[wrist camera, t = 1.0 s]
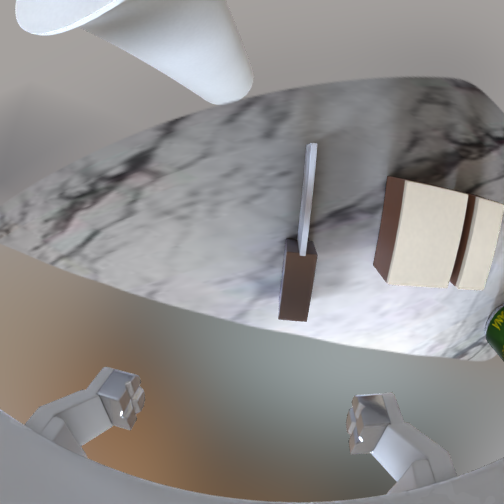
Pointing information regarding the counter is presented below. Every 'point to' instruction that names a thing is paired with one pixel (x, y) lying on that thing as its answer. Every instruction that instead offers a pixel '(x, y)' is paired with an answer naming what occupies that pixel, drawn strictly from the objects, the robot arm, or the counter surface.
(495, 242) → the cake slice
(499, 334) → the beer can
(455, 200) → the cake
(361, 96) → the counter surface
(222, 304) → the counter surface
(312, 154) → the knife
